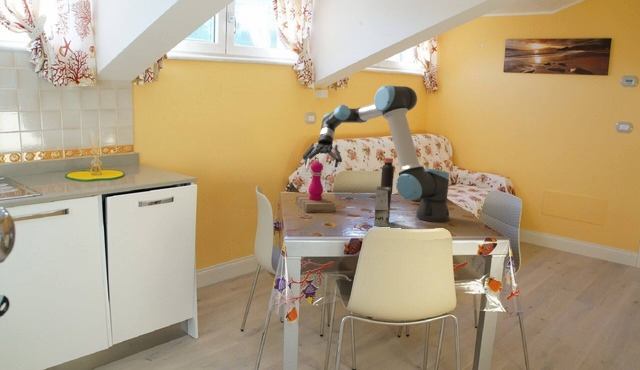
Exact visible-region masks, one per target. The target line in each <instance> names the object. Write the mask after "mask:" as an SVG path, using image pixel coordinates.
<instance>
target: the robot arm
mask: <svg viewBox="0 0 640 370" xmlns="http://www.w3.org/2000/svg"><path fill="white" fill-rule="evenodd" d="M373 99H374V100H373V102H372V103H369V104H367V105H363V106H361V107H357V108H350V107H348V106H347V105H346V104H340V105H339V106H337V107H336V108H334V110H333V111H332V112H328V113H324V115H323V117H322V121H321V126H320V132H319V136H318V142H317V144H314V143H311V145H310V147H309V148H308V149H307V150H306V152H304V154H303V155H302V159H303V160H304V165H305V171H306V172H307V173H308V171H309V168H310V162H311V161H310V160H312V159H313V158H314V157H315V156H317V155H320V154H325V155H327V154H328V155H329V156H330V157H331V159H332V160H333V165H332V168H331V169H332V174H335V171H336V168H338V165H339V163H342V162H343V158H342V156H341V154H340V151H339V148H338V145H337V144H336V145H333V143H334V139H335V138H334V137H335V131H336V128H338V127H339V126H340V125H341V124H342V123H343V124H345V123H347V124H350V123H351V124H353V123H358V124H362V123H367V122H368V120H373V119H376V118H379V117H382V118H383V119H385V120H386V121H387V123H388V127H389V131H390V135H391V138H392V142H393V146H394V150H395V153H396V156H397V160H398V164H399V172H398V177H397V179H396V182H395V186H396V190H397V192H398V194H399V195H400V197H402V198H404V200H409V201H413V200H416V199H420V198H422V200H421V202H420V203H419V206H418V207H417V208H418V209H417V210H416V216H415V217H416V218H417V219H418V220H422V221H427V222H433V223H444V222H448V221H450V212H449V208H448V202H447V201H448V195H449V194H448V193H449V183H450V174H449V172H447V171H445V170H440V169H435V168H424V167H425V166H424V165H422V164H420V161H419V159H418V156H417V151H416V147H415V144H414V140H413V136H412V133H411V129H410V125H409V123H408V118H407V113H408V112H409V111H411V110H412V109H414V108H415V107H416V105H417V102H418V95H417V93H416V91H415V90H414V89H413V88H411V87H410V86H405V85H403V86H400V85H399V86H398V85H391V84H388V85H383V86H380V87H379V88H378V89H377V91H375V95H374V98H373ZM332 150H333V151H335V152H333V151H332ZM416 201H417V200H416Z"/></svg>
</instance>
